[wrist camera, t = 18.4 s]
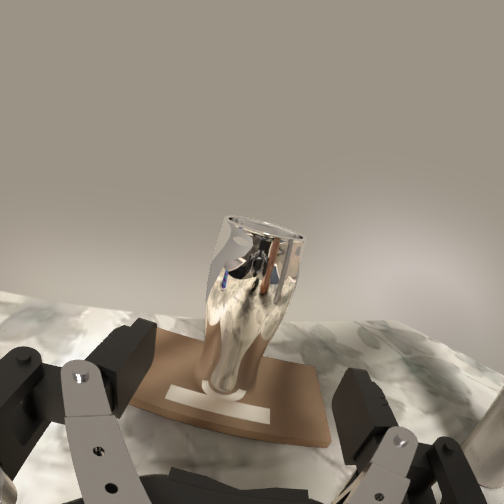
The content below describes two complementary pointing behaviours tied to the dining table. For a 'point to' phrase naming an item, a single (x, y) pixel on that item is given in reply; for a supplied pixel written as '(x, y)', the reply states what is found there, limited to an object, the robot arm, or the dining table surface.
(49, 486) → the dining table surface
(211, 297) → the beer glass
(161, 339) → the board
